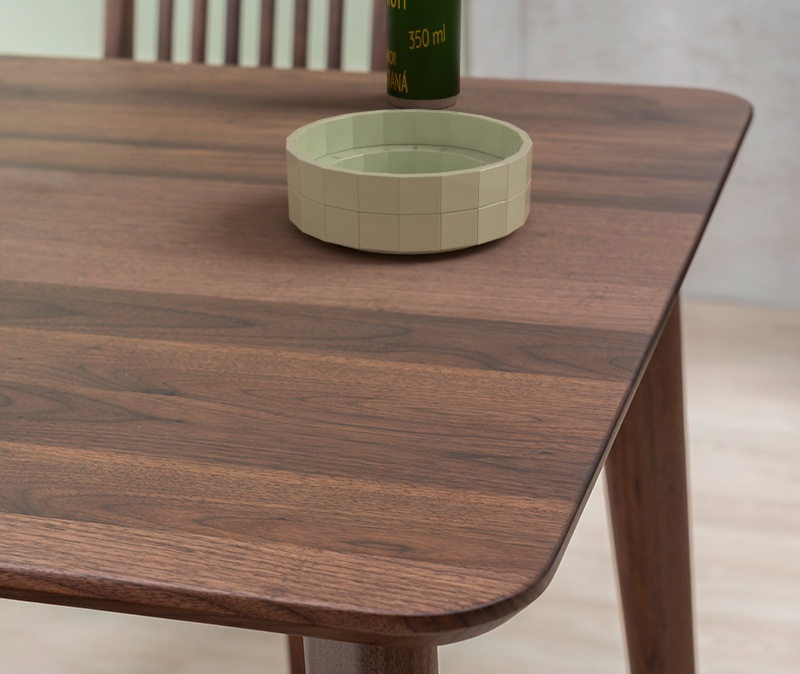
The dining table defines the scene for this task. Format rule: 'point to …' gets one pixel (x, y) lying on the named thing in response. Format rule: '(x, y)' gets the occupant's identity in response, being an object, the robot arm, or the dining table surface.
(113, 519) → the dining table surface
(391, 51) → the green drink can
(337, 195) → the dish
